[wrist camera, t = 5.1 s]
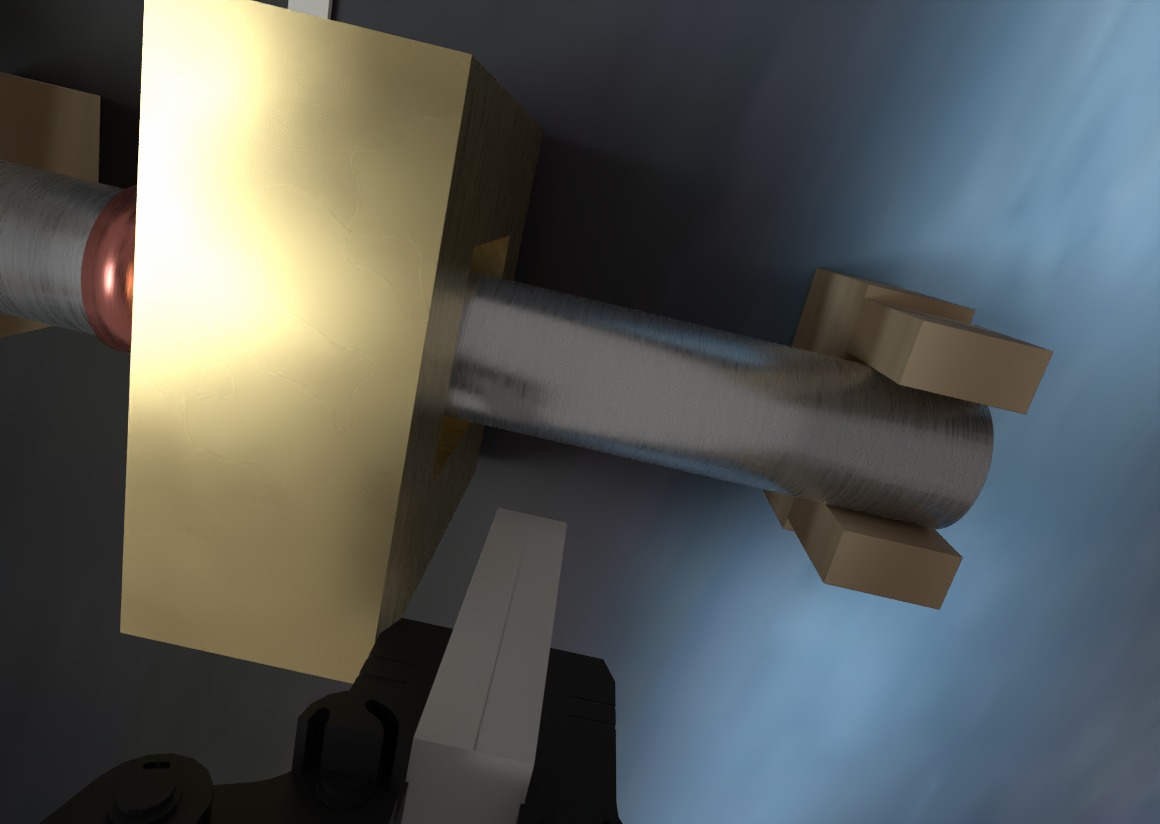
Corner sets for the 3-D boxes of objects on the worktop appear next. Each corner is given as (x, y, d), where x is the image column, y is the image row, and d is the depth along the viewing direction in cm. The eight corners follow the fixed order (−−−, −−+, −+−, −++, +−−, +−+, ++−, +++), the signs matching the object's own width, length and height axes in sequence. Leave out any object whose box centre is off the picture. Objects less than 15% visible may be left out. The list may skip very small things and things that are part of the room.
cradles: (12, 297, 20) (-286, 345, 13) (10, 74, 18) (-335, 0, 12) (829, 486, 21) (933, 622, 14) (901, 288, 19) (1060, 335, 12)
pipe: (-115, 265, 16) (-298, 282, 13) (-125, 110, 15) (-327, 84, 12) (886, 497, 17) (953, 569, 13) (939, 362, 16) (1026, 404, 12)
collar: (339, 439, 20) (120, 632, 11) (386, 92, 17) (145, -26, 8) (475, 470, 20) (366, 686, 11) (543, 130, 17) (472, 54, 8)
